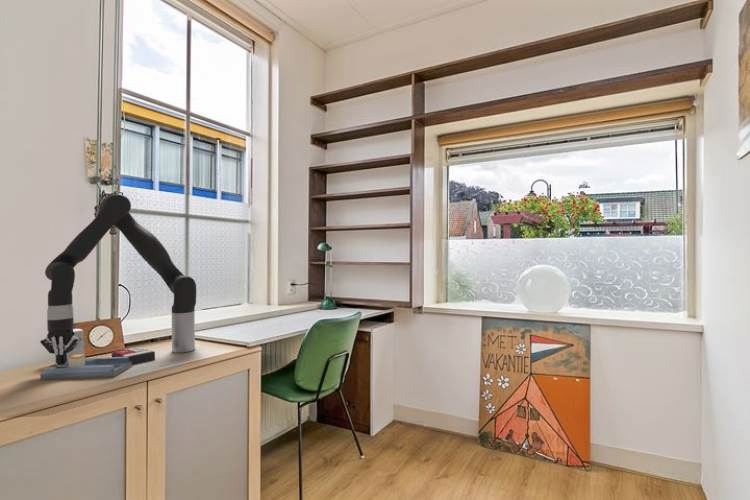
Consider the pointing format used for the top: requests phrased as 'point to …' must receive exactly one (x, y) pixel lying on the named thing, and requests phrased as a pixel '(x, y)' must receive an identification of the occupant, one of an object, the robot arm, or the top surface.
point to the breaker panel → (89, 375)
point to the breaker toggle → (77, 360)
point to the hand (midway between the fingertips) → (61, 364)
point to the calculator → (136, 355)
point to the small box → (80, 346)
